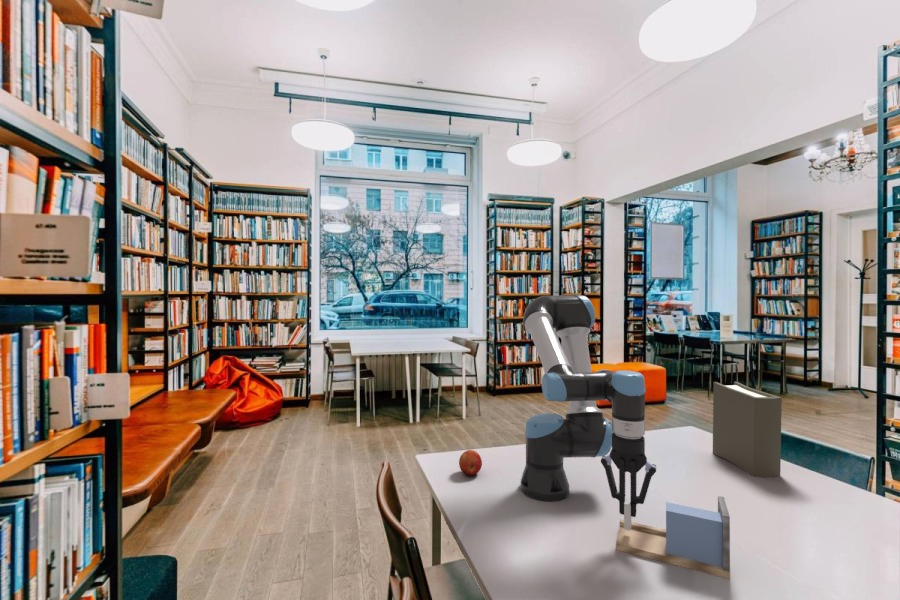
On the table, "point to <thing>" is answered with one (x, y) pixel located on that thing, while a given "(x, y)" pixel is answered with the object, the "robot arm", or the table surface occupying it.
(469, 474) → the apple
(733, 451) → the book
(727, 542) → the shelf
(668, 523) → the slim book
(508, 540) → the table surface
